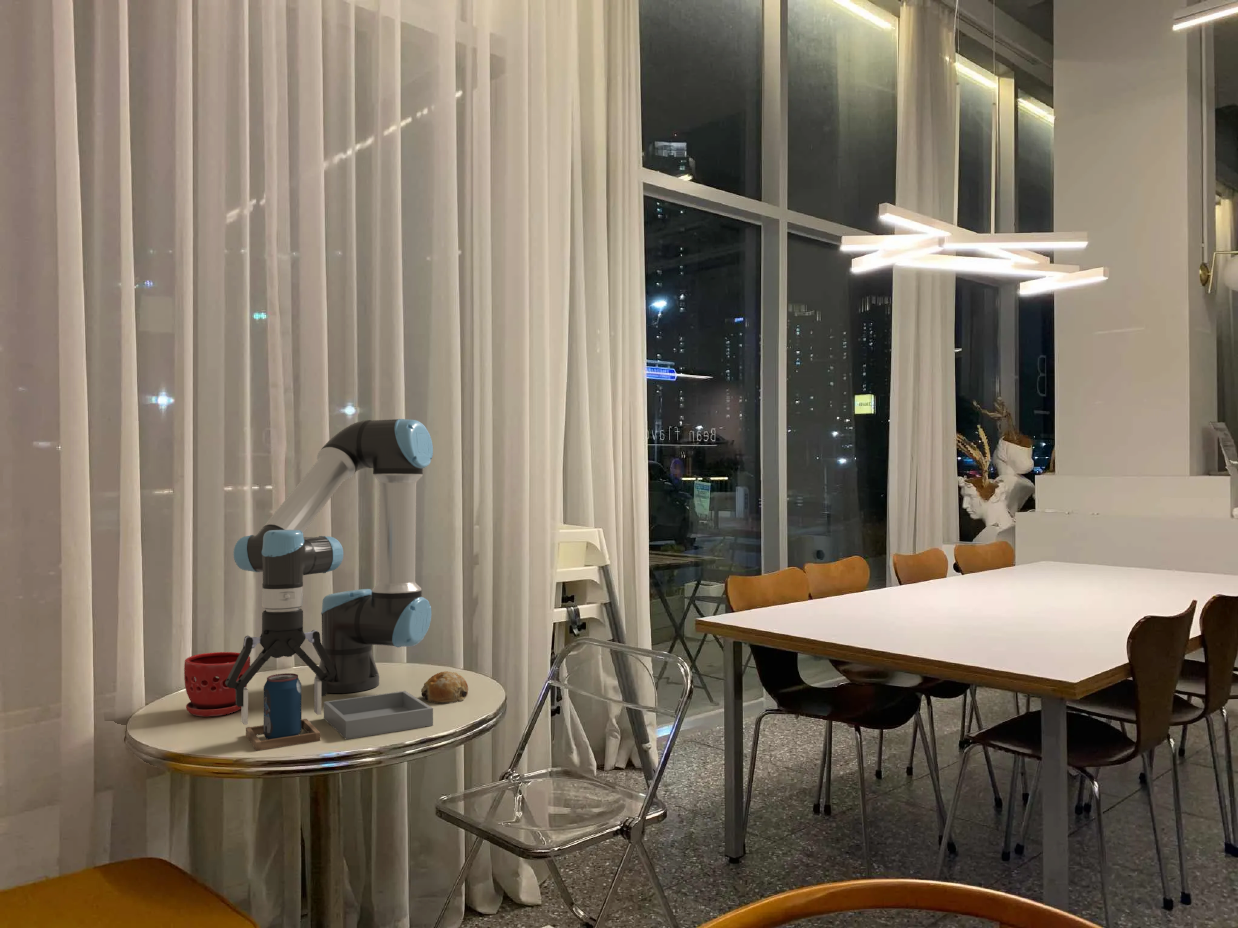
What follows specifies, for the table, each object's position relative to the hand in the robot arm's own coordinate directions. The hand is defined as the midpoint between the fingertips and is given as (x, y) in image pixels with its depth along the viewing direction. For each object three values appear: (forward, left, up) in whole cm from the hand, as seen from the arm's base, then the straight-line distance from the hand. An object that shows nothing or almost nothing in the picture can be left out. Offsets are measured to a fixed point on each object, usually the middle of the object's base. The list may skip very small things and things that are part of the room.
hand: (281, 717), depth 172 cm
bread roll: (-12, +38, -4) cm, 40 cm away
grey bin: (-1, +19, -4) cm, 20 cm away
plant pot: (-28, -8, -4) cm, 30 cm away
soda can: (0, 0, -4) cm, 4 cm away
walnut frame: (0, 0, -4) cm, 4 cm away
